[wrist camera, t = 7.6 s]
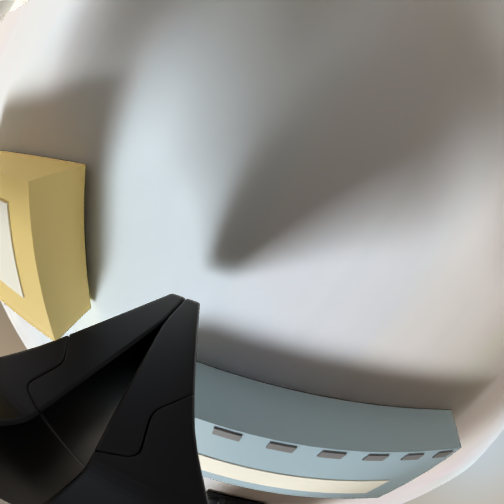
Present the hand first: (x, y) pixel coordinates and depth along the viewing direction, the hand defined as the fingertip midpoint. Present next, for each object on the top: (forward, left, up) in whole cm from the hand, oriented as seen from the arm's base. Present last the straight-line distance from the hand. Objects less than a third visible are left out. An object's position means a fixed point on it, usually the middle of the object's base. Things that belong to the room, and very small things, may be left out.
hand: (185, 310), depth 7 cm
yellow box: (0, +9, -1) cm, 9 cm away
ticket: (-7, -6, -1) cm, 10 cm away
